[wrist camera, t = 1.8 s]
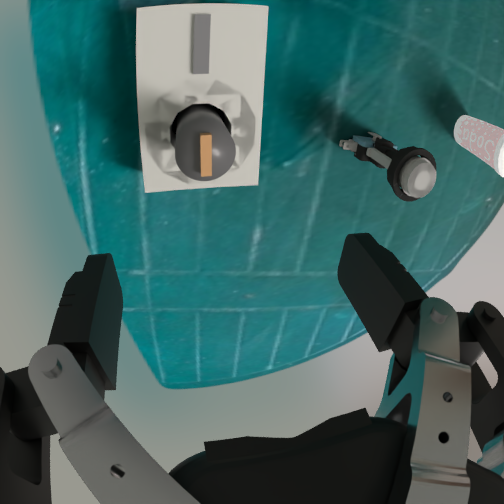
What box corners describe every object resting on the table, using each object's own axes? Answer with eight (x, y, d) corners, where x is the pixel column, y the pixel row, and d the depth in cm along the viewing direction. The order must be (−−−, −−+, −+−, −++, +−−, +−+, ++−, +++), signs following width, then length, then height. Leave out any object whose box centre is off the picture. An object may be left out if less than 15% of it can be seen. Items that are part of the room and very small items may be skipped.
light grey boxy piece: (143, 15, 20) (136, 7, 16) (255, 12, 22) (269, 5, 18) (149, 173, 29) (145, 194, 25) (248, 167, 31) (258, 186, 27)
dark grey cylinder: (176, 102, 26) (173, 128, 17) (219, 101, 26) (238, 125, 18) (177, 142, 28) (176, 186, 20) (219, 140, 29) (236, 182, 20)
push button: (333, 163, 33) (381, 205, 25) (341, 117, 30) (396, 147, 22) (381, 166, 34) (433, 207, 26) (390, 125, 31) (448, 157, 23)
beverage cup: (458, 103, 30) (541, 142, 19) (481, 118, 32) (555, 159, 21) (444, 143, 34) (522, 192, 23) (468, 154, 35) (538, 202, 24)
